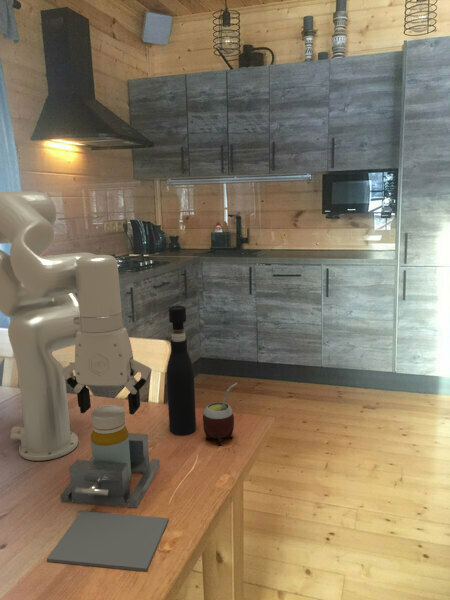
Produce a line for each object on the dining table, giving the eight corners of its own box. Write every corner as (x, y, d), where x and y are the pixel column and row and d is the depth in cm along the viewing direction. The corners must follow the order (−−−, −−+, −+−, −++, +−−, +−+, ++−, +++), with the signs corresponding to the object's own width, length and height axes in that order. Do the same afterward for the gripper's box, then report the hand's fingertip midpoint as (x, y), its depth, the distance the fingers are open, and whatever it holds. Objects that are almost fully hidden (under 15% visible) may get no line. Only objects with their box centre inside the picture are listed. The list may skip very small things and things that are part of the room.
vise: (54, 510, 89) (50, 474, 88) (93, 461, 106) (91, 431, 104) (131, 516, 87) (129, 480, 86) (159, 465, 103) (157, 434, 102)
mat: (47, 561, 77) (46, 558, 76) (81, 513, 88) (81, 510, 88) (146, 571, 74) (146, 568, 74) (168, 520, 86) (168, 518, 85)
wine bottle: (164, 433, 117) (158, 309, 111) (176, 422, 123) (170, 304, 117) (189, 437, 115) (184, 311, 109) (200, 425, 121) (195, 305, 115)
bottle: (123, 494, 93) (117, 420, 90) (88, 491, 95) (82, 418, 92) (136, 474, 100) (132, 405, 97) (104, 471, 101) (98, 403, 99)
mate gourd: (203, 433, 117) (201, 372, 114) (236, 431, 118) (235, 371, 115) (204, 448, 110) (202, 384, 107) (239, 446, 110) (238, 382, 107)
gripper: (47, 328, 89) (57, 418, 92) (140, 327, 86) (147, 420, 89) (67, 318, 96) (76, 402, 99) (153, 318, 93) (159, 404, 96)
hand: (109, 411), depth 94 cm, fingers open, 9 cm apart
